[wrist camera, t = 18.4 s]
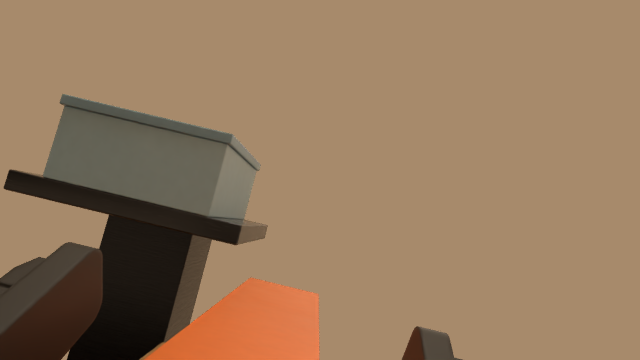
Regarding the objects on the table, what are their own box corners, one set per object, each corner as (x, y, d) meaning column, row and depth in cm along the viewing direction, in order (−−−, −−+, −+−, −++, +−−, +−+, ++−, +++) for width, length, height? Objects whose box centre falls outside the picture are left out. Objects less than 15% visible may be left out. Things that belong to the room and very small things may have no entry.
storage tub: (36, 175, 25) (61, 93, 25) (130, 192, 37) (146, 137, 37) (210, 217, 24) (233, 134, 25) (246, 220, 37) (260, 164, 37)
